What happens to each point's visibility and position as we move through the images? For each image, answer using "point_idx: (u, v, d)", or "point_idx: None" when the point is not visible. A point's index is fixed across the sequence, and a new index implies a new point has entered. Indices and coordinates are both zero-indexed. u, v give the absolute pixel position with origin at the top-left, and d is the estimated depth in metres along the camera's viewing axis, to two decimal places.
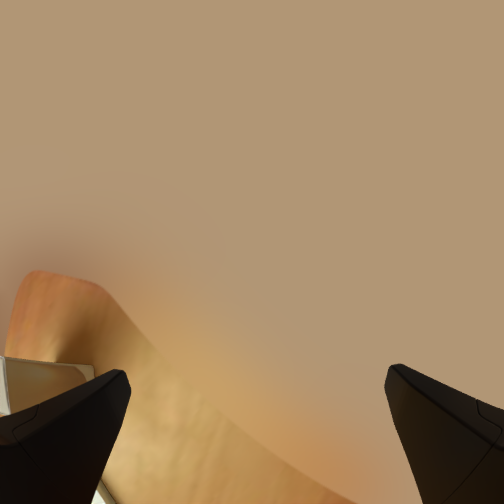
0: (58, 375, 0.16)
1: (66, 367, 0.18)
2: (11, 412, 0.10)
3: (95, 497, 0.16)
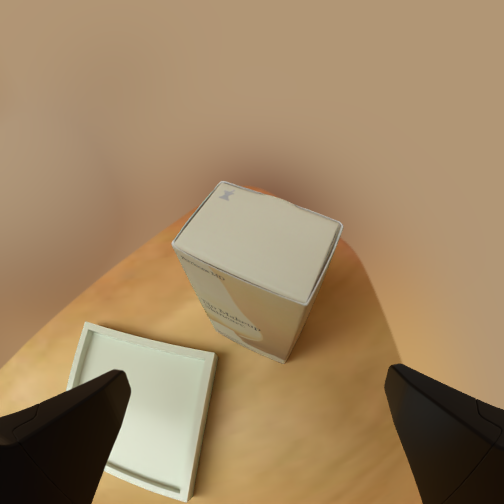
0: None
1: None
2: (310, 300, 0.10)
3: (170, 469, 0.14)
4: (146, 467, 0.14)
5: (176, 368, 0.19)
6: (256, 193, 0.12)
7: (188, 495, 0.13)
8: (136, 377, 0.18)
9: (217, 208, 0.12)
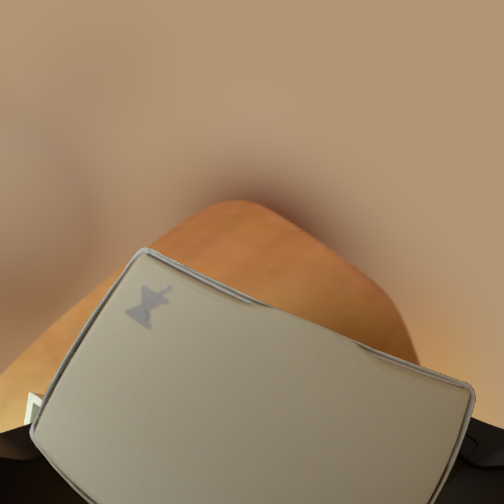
0: None
1: None
2: None
3: None
4: None
5: None
6: (239, 301, 0.04)
7: None
8: None
9: (117, 357, 0.03)
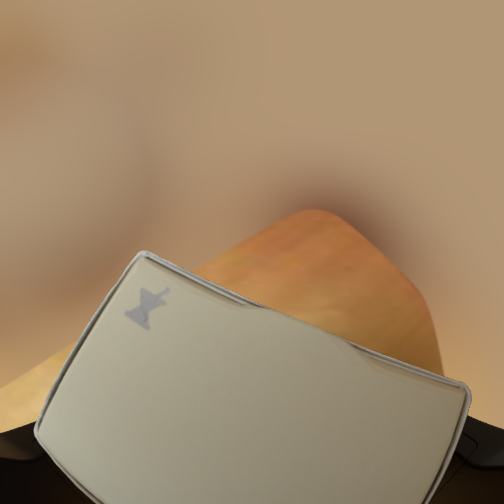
0: None
1: None
2: None
3: None
4: None
5: None
6: (234, 302, 0.04)
7: None
8: None
9: (117, 358, 0.03)
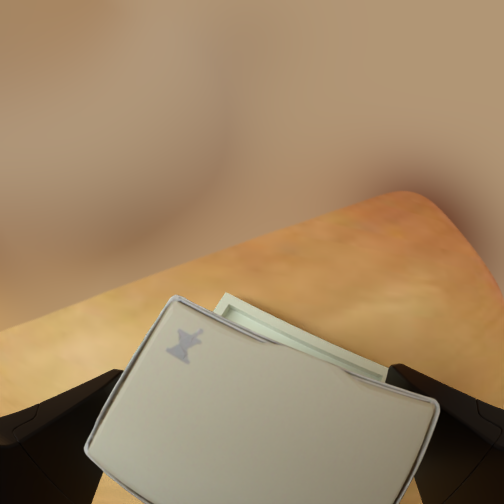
0: None
1: None
2: None
3: None
4: None
5: None
6: (256, 340, 0.05)
7: None
8: None
9: (163, 386, 0.04)
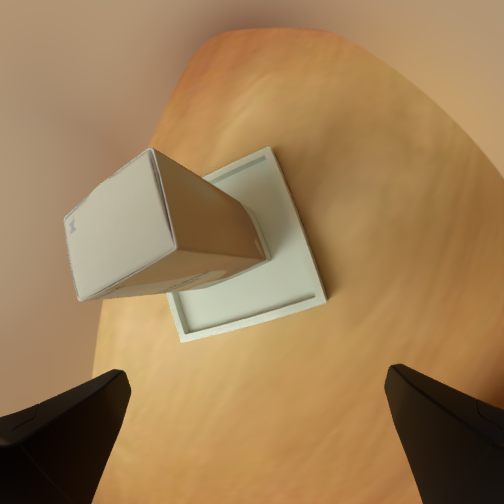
0: (225, 203, 0.15)
1: (230, 197, 0.16)
2: (177, 239, 0.09)
3: (293, 279, 0.19)
4: (272, 294, 0.20)
5: (245, 181, 0.21)
6: (85, 200, 0.10)
7: (324, 294, 0.18)
8: None
9: (75, 243, 0.10)
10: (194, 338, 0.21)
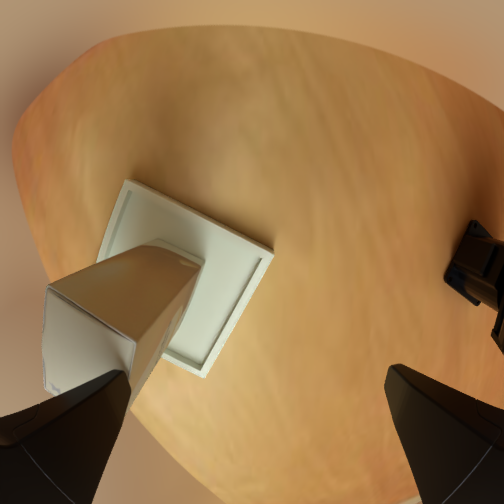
0: (134, 259, 0.14)
1: (133, 249, 0.15)
2: (129, 335, 0.08)
3: (234, 259, 0.20)
4: (229, 285, 0.20)
5: (133, 222, 0.19)
6: (44, 363, 0.09)
7: (266, 250, 0.19)
8: None
9: None
10: (209, 367, 0.21)
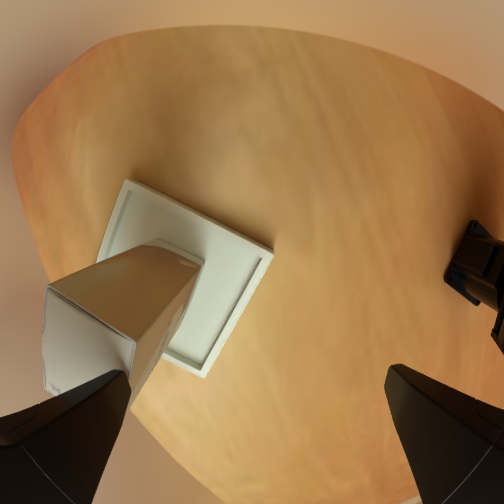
0: (134, 259, 0.14)
1: (133, 249, 0.15)
2: (130, 335, 0.08)
3: (234, 259, 0.20)
4: (229, 285, 0.20)
5: (133, 221, 0.19)
6: (44, 363, 0.09)
7: (266, 250, 0.19)
8: None
9: None
10: (209, 367, 0.21)
